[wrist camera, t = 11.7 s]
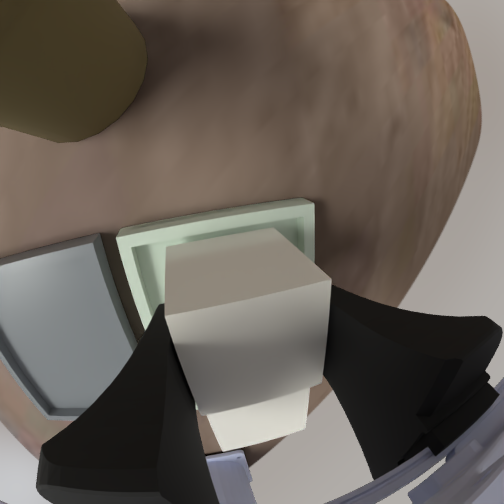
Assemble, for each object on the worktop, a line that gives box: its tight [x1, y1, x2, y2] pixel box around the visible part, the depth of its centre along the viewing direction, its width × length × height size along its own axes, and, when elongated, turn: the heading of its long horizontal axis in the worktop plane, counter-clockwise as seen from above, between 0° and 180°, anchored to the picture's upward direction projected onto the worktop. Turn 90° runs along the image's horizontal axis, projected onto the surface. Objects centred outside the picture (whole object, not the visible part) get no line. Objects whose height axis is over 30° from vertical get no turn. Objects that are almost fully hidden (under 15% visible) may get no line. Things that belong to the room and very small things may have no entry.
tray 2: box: [116, 197, 315, 410], centre depth 13 cm, size 11×8×1 cm
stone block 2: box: [207, 387, 310, 452], centre depth 12 cm, size 4×4×4 cm
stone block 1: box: [165, 227, 332, 416], centre depth 9 cm, size 4×4×4 cm
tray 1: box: [0, 233, 138, 421], centre depth 11 cm, size 11×9×1 cm
